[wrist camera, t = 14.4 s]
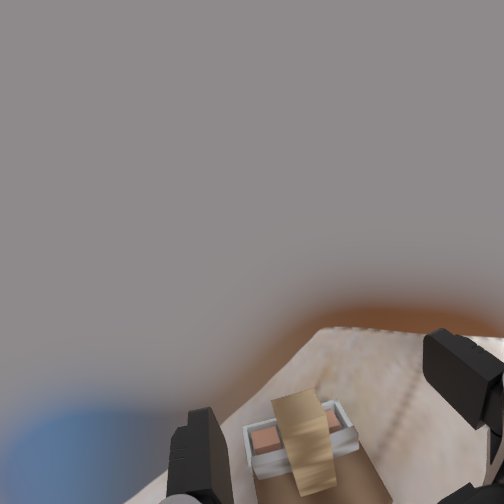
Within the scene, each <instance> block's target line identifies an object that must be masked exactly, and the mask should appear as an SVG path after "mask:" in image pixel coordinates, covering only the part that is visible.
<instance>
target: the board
mask: <svg viewBox="0 0 504 504" xmlns="http://www.w3.org/2000/svg"><path fill="white" fill-rule="evenodd" d="M333 460H334V467H335V474H336V481H337V486H334V487H331V488H328V489H325V490H322V491H319V492H316V493H313V494H309V495H306V496H303V497H301V496H300V493H299V490H298V487H297V484H296V481H295V477H294V474H293V472H289V473H286V474H282V475H278V476H274V477H270V478H266V479H262V480H258V478H257V476H256V474H255V471H254V469H253V467H252V472H253V477H254V483H255V488H256V493H257V499H258V504H392V501H393V500H392V498H391V496H390V494H389V492H388V491H387V489H386V487H385V485H384V484H383V482H382V480H381V478H380V477H379V475H378V473H377V471H376V470H375V468H374V466H373V464H372V462H371V461H370V459H369V457H368V455H367V454H366V452H365V450H364V448H363V447H362V445H361V443H360V441H359V449H358V450H356V451H353V452H351V453H348V454H345V455H342V456H340V457H337V458H334V459H333ZM251 466H252V462H251Z"/></svg>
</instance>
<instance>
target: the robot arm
mask: <svg viewBox="0 0 504 504" xmlns="http://www.w3.org/2000/svg"><path fill="white" fill-rule="evenodd" d="M423 373H424V376H425V378H426V380H427V382H428V383H429V384H430V385H431V386H432V387H433V388H434V389H435V390H436V391H437V392H438V393H439V394H440V395H441V396H442V397H443V398H444V399H445V400H446V401H447V402H448V403H449V404H450V405H451V406H452V407H453V408H454V409H455V410H456V411H457V412H458V413H459V414H460V415H461V416H462V417H463V418H464V419H465V420H466V421H467V422H468V423H469V424H470V425H471V426H472V427H473V428H474V429H475V430H477V429H479V428H480V427H482V426H483V425H485V424H487V425H488V426H489V428H488V431H487V463H486V474H485V479H484V482H483V486H480V487H477V488H474V487H473V485H472V484H471V483H470V482H469V483H468V484H466V485H465V486H463V487H462V488H460V489H459V490H457V491H455V492H454V493H452V494H450V495H449V496H447V497H445V498H444V499H442V500H441V501H440V502H439V503H437V504H504V363H503V362H502V361H500V360H499V359H498V358H496V357H495V356H493V355H492V354H490V353H489V352H488V351H486V350H485V351H484V349H483V348H482V347H480V346H479V345H478V346H477V344H476V343H475V342H473V341H472V340H470V339H469V338H467V337H463V336H460V335H453V334H451V333H450V332H449V331H447V330H446V329H444V328H440V329H438V330H436V331H434V332H432V333H430V334H427V335H426V336H425V337H424V340H423ZM170 451H171V452H170V456H169V460H170V461H169V468H168V480H167V493H166V498H165V499H164V500H162V501H161V502H160V503H159V504H234V501H233V492H232V484H231V475H230V466H229V456H228V448H227V444H226V441H225V438H224V435H223V433H222V431H221V429H220V426H219V425H218V422H217V420H216V418H215V415H214V413H213V411H212V409H211V407H206V408H201V409H196V410H191V411H189V412H188V426H183V427H178V428H177V430H176V431H175V433H174V435H173V436H172V438H171V446H170Z"/></svg>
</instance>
